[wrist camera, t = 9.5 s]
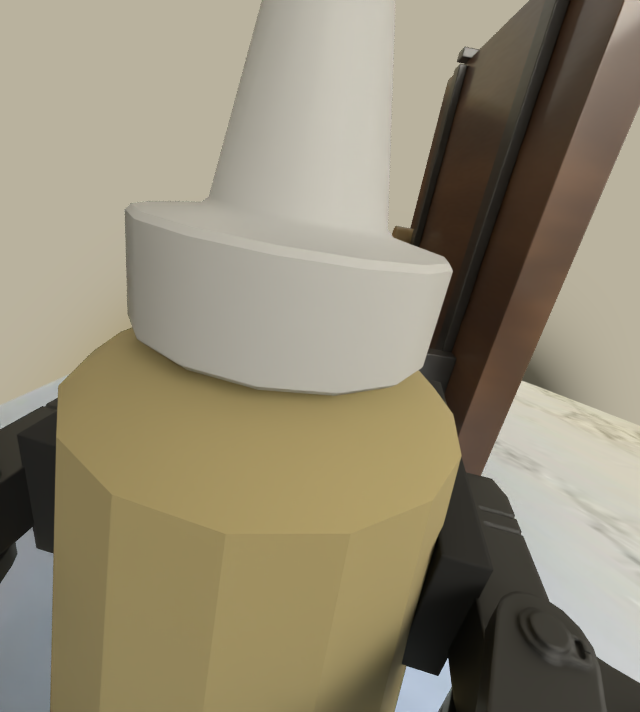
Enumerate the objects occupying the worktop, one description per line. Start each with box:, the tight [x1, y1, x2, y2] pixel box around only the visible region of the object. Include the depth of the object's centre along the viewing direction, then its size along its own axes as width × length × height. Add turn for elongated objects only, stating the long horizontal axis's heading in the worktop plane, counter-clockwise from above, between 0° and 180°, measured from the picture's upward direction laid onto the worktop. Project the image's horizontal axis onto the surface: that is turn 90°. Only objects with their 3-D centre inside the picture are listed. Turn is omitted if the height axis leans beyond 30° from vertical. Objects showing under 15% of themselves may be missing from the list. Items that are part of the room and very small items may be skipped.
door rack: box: [392, 0, 640, 476], centre depth 26 cm, size 20×22×29 cm
